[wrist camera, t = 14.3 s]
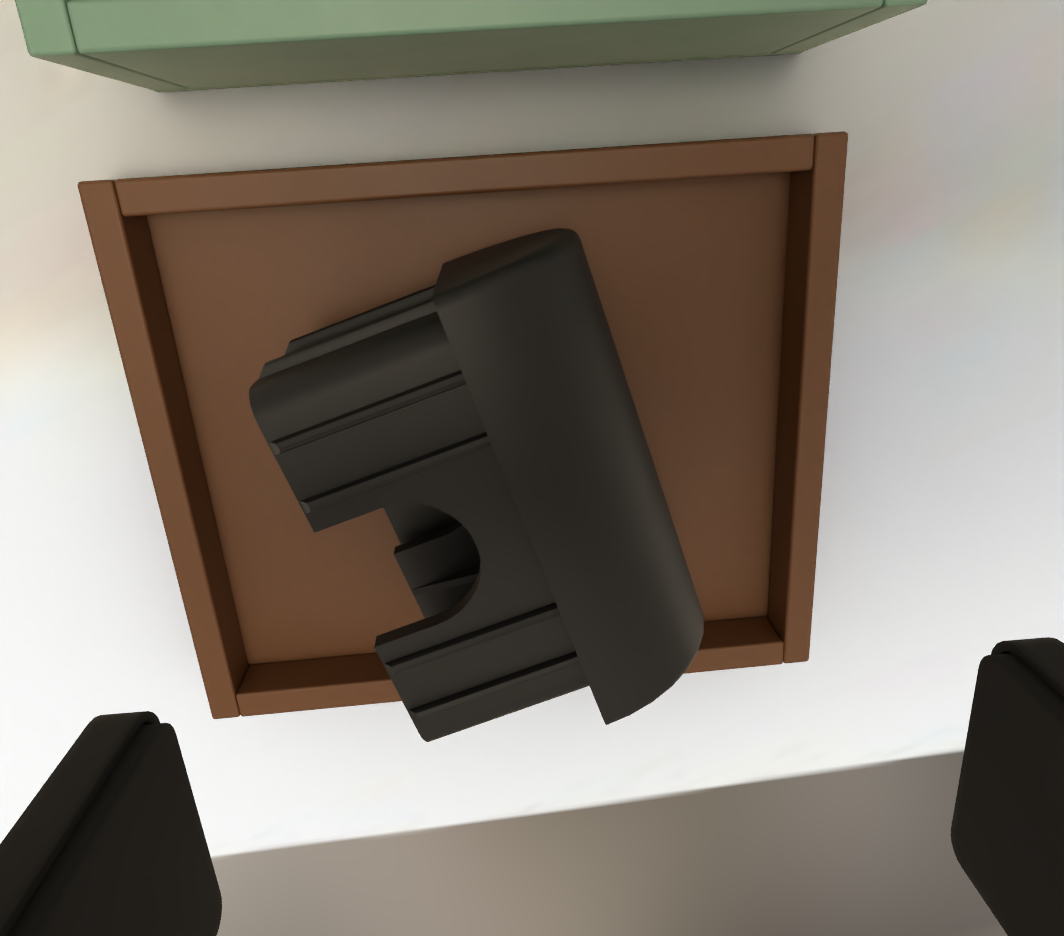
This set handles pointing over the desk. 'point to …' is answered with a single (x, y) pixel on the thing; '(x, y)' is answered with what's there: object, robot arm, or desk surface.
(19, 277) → the desk surface
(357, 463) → the end cap
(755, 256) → the tray
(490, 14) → the tote
